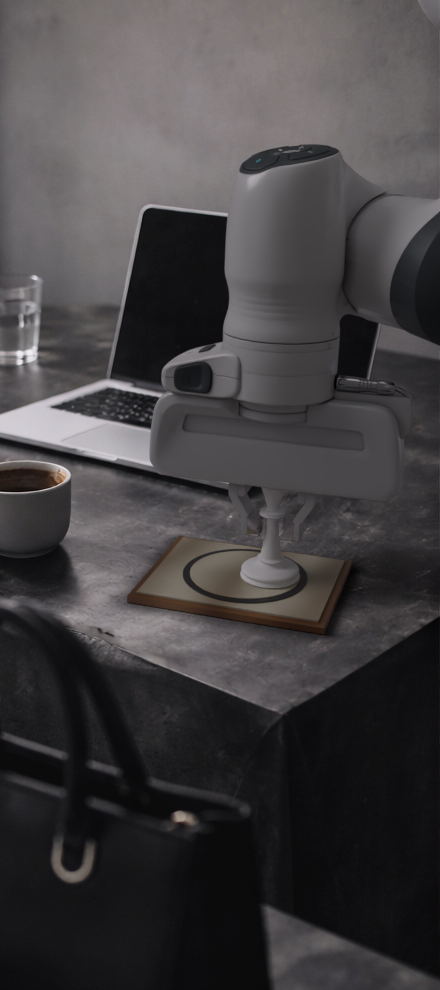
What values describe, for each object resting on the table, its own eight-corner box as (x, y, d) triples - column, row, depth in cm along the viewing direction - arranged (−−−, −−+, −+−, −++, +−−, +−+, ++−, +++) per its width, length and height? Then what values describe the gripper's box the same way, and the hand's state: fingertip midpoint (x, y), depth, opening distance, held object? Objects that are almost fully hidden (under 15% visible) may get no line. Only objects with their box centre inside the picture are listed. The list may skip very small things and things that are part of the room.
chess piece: (228, 573, 81) (231, 459, 78) (271, 558, 84) (276, 447, 81) (268, 594, 78) (273, 476, 74) (312, 577, 81) (319, 463, 77)
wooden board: (352, 566, 86) (353, 556, 85) (324, 635, 74) (324, 623, 74) (179, 541, 90) (179, 531, 89) (126, 602, 78) (126, 591, 78)
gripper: (420, 373, 75) (404, 538, 80) (169, 350, 80) (168, 506, 85) (411, 392, 69) (394, 569, 74) (141, 367, 75) (142, 533, 80)
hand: (271, 535), depth 80 cm, fingers closed on chess piece
